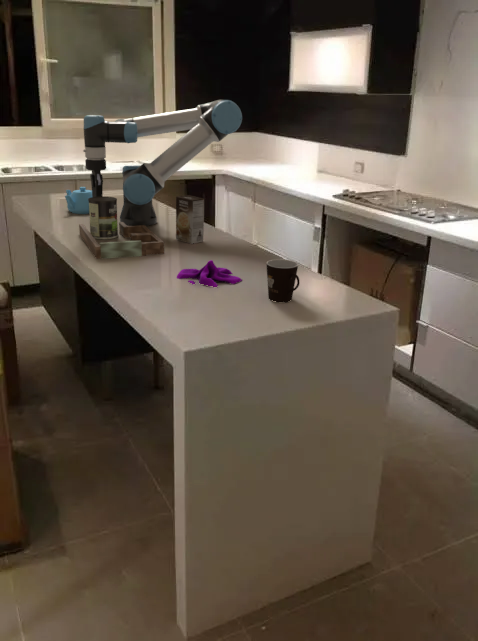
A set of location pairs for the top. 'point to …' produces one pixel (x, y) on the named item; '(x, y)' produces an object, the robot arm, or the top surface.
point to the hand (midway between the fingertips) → (98, 221)
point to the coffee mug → (281, 279)
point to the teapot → (78, 200)
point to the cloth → (209, 275)
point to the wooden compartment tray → (125, 243)
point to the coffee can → (103, 217)
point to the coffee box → (189, 219)
